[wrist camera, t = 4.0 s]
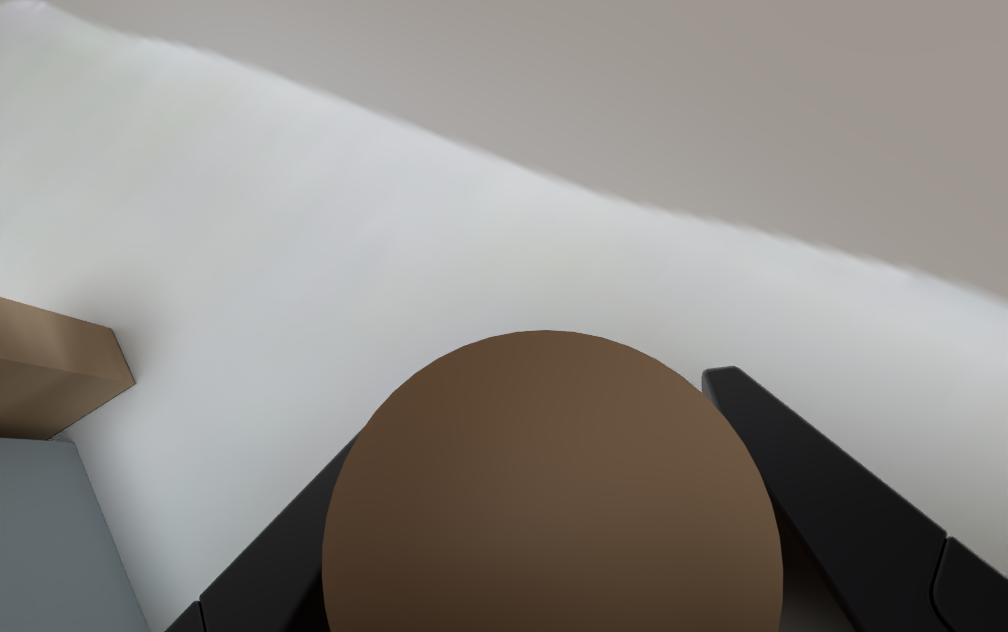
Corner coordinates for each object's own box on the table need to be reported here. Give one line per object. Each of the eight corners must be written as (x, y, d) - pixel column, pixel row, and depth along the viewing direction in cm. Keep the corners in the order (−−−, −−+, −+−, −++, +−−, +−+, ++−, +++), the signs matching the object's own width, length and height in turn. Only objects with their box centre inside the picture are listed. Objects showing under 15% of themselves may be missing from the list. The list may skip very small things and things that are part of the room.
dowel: (710, 461, 15) (852, 438, 6) (644, 628, 15) (674, 919, 5) (550, 392, 16) (434, 267, 6) (483, 549, 16) (247, 669, 6)
